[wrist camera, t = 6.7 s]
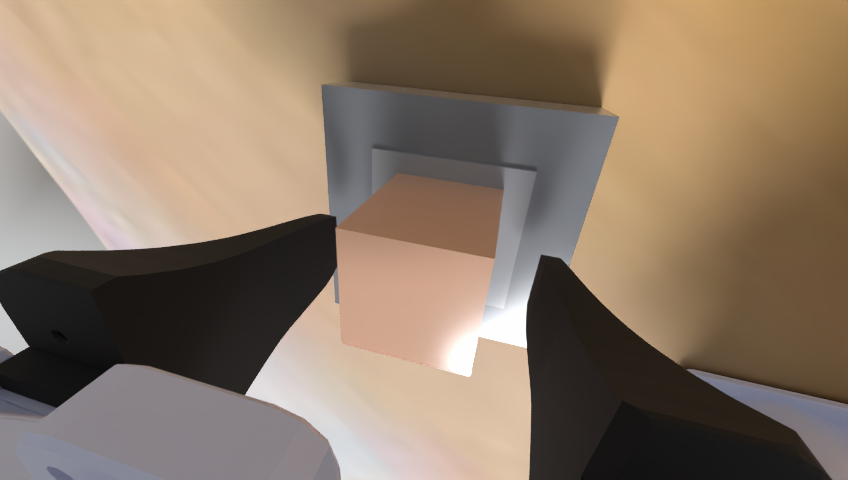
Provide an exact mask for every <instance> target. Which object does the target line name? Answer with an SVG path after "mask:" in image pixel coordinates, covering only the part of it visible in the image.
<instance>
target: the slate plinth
mask: <svg viewBox="0 0 848 480" xmlns="http://www.w3.org/2000/svg"><path fill="white" fill-rule="evenodd" d="M322 99H323V115H324V130H325V146H326V162H327V177H328V193H329V209H330V216H336V221H337V226H338V225H339V224H341V223H342V222H343V221H344V220H345V219H346V218H347V217H348V216H350V215H351V214H352V213H353V212H354V211H355V210H356V209H358V208H359V207H360V206H361V205H362V204H363V203H364V202H365V201H367V200H368V199H369V198H370V197H371V196H372V195H373V194H374V193H376V192H377V191H378V190H379V189H380V188H381V187H382V186H383V185H385V184H386V183H387V182H388V181H389V180H390V179H391V178H392V177H394V176H395V175H396V174H397V173H401V174H407V175H414V176H420V177H427V178H433V179H439V180H446V181H452V182H459V183H465V184H471V185H478V186H484V187H490V188H497V189H503V190H504V193H503V201H502V209H501V216H500V224H499V232H498V239H497V247H496V255H495V261H494V266H493V271H492V275H491V280H490V285H489V290H488V294H487V299H486V304H485V308H484V313H483V318H482V323H481V327H480V332H479V337H483V338H487V339H492V340H496V341H500V342H504V343H509V344H513V345H517V346H521V347H526V348H527V342H526V311H527V302H528V299H529V295H530V292H531V288H532V284H533V281H534V277H535V274H536V270H537V267H538V263H539V260H540V256H541V255H547V256H552V257H558V258H561V259H562V260H563V261H564V262H565V263H566V264H567V265H568V267H569V265H570V262H571V259H572V256H573V253H574V250H575V247H576V244H577V241H578V238H579V235H580V232H581V229H582V226H583V223H584V220H585V217H586V214H587V211H588V208H589V205H590V202H591V199H592V196H593V193H594V190H595V187H596V184H597V181H598V178H599V175H600V172H601V169H602V166H603V163H604V160H605V157H606V154H607V151H608V148H609V146H610V143H611V140H612V137H613V134H614V131H615V128H616V125H617V122H618V119H619V116H617V115H615V114H613V113H611V112H609V111H607V110H605V109H603V108H600V107H590V106H581V105H571V104H561V103H552V102H542V101H533V100H523V99H514V98H504V97H495V96H485V95H476V94H466V93H456V92H447V91H437V90H428V89H418V88H409V87H399V86H390V85H380V84H371V83H361V82H342V83H332V84H322ZM334 287H335V302H336V303H339V286H338V267H337V268H336V270H335V272H334Z"/></svg>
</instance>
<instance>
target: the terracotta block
mask: <svg viewBox="0 0 848 480" xmlns="http://www.w3.org/2000/svg"><path fill="white" fill-rule="evenodd" d="M503 193H504V190H503V189H497V188H490V187H484V186H478V185H471V184H465V183H459V182H452V181H446V180H439V179H433V178H427V177H420V176H414V175H407V174H401V173H397V174H396V175H395V176H394V177H392V178H391V179H390V180H389V181H388V182H387V183H386V184H385V185H383V186H382V187H381V188H380V189H379V190H378V191H377V192H376V193H374V194H373V195H372V196H371V197H370V198H369V199H368V200H367V201H365V202H364V203H363V204H362V205H361V206H360V207H359V208H358V209H356V210H355V211H354V212H353V213H352V214H351V215H350V216H348V217H347V218H346V219H345V220H344V221H343V222H342V223H341V224H339V225H338V226H337V227H336V228H335V230H336V248H337V267H338V286H339V304H340V323H341V341H342V344H345V345H349V346H353V347H357V348H360V349H364V350H368V351H372V352H376V353H380V354H384V355H387V356H391V357H395V358H399V359H403V360H407V361H410V362H414V363H418V364H422V365H426V366H430V367H433V368H437V369H441V370H445V371H449V372H453V373H456V374H460V375H464V376H468V377H470V375H471V370H472V365H473V360H474V356H475V351H476V346H477V342H478V337H479V332H480V327H481V323H482V318H483V313H484V308H485V304H486V299H487V294H488V290H489V285H490V280H491V275H492V271H493V266H494V261H495V255H496V247H497V239H498V232H499V224H500V216H501V209H502V201H503Z"/></svg>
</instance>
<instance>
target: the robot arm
mask: <svg viewBox="0 0 848 480" xmlns="http://www.w3.org/2000/svg"><path fill="white" fill-rule="evenodd" d="M336 227H337V221H336V216H330V215H325V214H316V215H311V216H307V217H303V218H299V219H296V220H292V221H289V222H285V223H282V224H278V225H275V226H271V227H268V228H264V229H260V230H257V231H253V232H249V233H245V234H241V235H237V236H233V237H228V238H223V239H218V240H212V241H207V242H201V243H194V244H186V245H178V246H170V247H161V248H148V249H132V250H109V251H52V252H47V253H44V254H41V255H38V256H36V257H33V258H31V259H28V260H26V261H23V262H21V263H18V264H16V265H13V266H11V267H8V268H6V269H3V270H1V271H0V303H1V304H2V306H3V308H4V310H5V311H6V313H7V314H8V316H9V317H10V319H11V320H12V321H13V323H14V324H15V326H16V328H17V329H18V331H19V332H20V333H21V335H22V336H23V338H24V339H25V341H26V342H27V344H28V345H29V346H30V347H28V348H26V349H25V350H23V351H21V352H19V353H18V354H16V355H13V354H12V353H11V352H9V351H8V350H7V349H5V348H2V347H0V480H341V477H340V468H339V465H338V462H337V459H336V457H335V455H334V453H333V450H332V448H331V446H330V444H329V442H328V440H327V439H326V438H325V437H324V436H323V435H322V434H321V433H320V432H319V431H317V430H316V429H315V428H314V427H313V426H312V425H311V424H310V423H309V422H308V421H306V420H305V419H304V418H302V417H300V416H298V415H296V414H293V413H291V412H289V411H287V410H285V409H283V408H281V407H279V406H277V405H274V404H271V403H268V402H265V401H261V400H258V399H255V398H252V397H248V396H245V394H246V392H247V391H248V389H249V387H250V386H251V384H252V383H253V381H254V379H255V378H256V376H257V375H258V373H259V372H260V370H261V368H262V367H263V365H264V364H265V362H266V361H267V359H268V358H269V356H270V355H271V353H272V352H273V350H274V349H275V347H276V346H277V344H278V343H279V342H280V340H281V339H282V337H283V336H284V335H285V334H286V332H287V331H288V330H289V328H290V327H291V326H292V325H293V324H294V323H295V321H296V320H297V319H298V318H299V317H300V316H301V314H302V313H303V312H304V311H305V310H306V309H307V307H308V306H309V305H310V304H311V303H312V302H313V300H314V299H315V298H316V297H317V296H318V294H319V293H320V292H321V291H322V290H323V288H324V287H325V286H326V285H327V283H328V282H329V280H330V278H331V277H332V275H333V274H334V272H335V270H336V268H337V248H336V230H335V228H336ZM526 342H527V354H528V365H529V376H530V387H531V445H530V474H529V480H848V404H844V403H840V402H835V401H831V400H826V399H822V398H818V397H813V396H809V395H804V394H800V393H795V392H791V391H787V390H782V389H778V388H773V387H769V386H765V385H760V384H756V383H751V382H747V381H743V380H738V379H734V378H729V377H725V376H721V375H716V374H712V373H707V372H703V371H698V370H694V369H684V368H683V367H681V366H680V365H678V364H677V363H675V362H674V361H672V360H671V359H670V358H668V357H667V356H665V355H664V354H662V353H661V352H660V351H658V350H657V349H655V348H654V347H652V346H651V345H650V344H648V343H647V342H646V341H644V340H643V339H642V338H641V337H639V336H638V335H637V334H636V333H635V332H633V331H632V330H631V329H630V328H628V327H627V326H626V325H625V324H624V323H622V322H621V321H620V320H619V319H618V318H617V317H616V316H615V315H613V314H612V313H611V312H610V311H609V310H608V309H607V308H606V307H605V306H604V305H603V304H602V303H601V302H600V301H599V300H598V299H597V298H596V297H595V296H594V295H593V294H592V293H591V292H590V291H589V289H588V288H587V287H586V286H585V285H584V284H583V283H582V282H581V280H580V279H579V278H578V277H577V276H576V275H575V274H574V272H573V271H572V270H571V269H570V268H569V267H568V265H567V264H566V263H565V262H564V261H563V260H562V259H561V258H558V257H552V256H547V255H541V256H540V260H539V263H538V267H537V270H536V274H535V277H534V281H533V284H532V288H531V292H530V295H529V299H528V302H527V311H526Z"/></svg>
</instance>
